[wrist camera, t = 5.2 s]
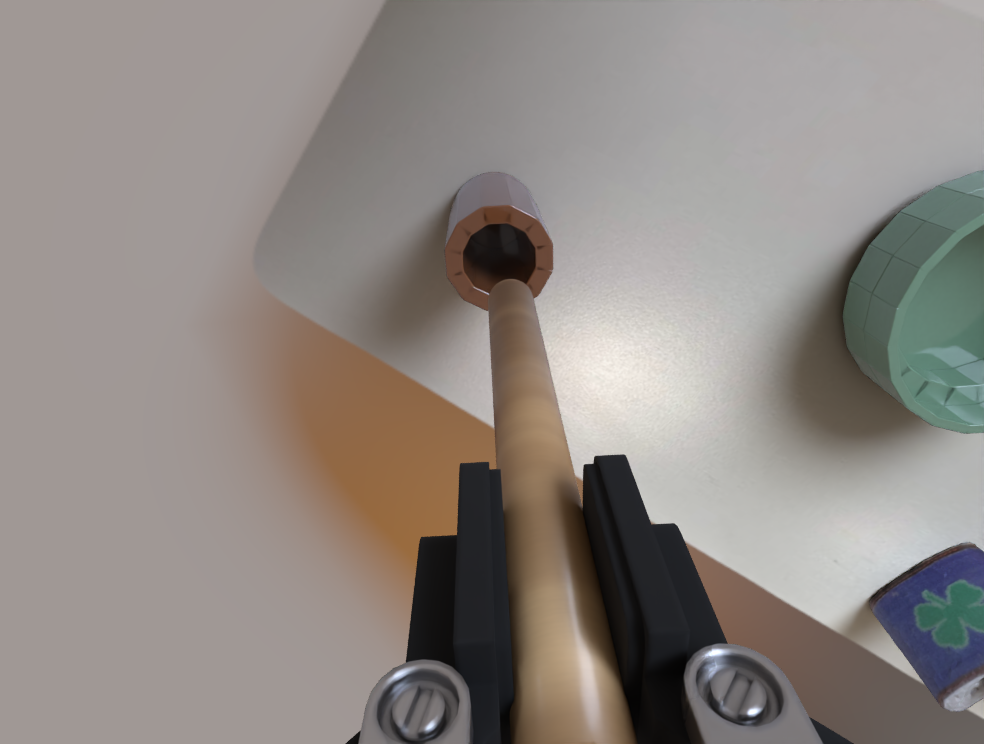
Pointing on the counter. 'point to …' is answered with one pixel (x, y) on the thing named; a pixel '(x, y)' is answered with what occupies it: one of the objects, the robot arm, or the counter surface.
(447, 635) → the robot arm
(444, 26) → the counter surface
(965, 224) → the bowl
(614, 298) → the counter surface
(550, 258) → the crock
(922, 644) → the flask
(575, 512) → the cooking stick
